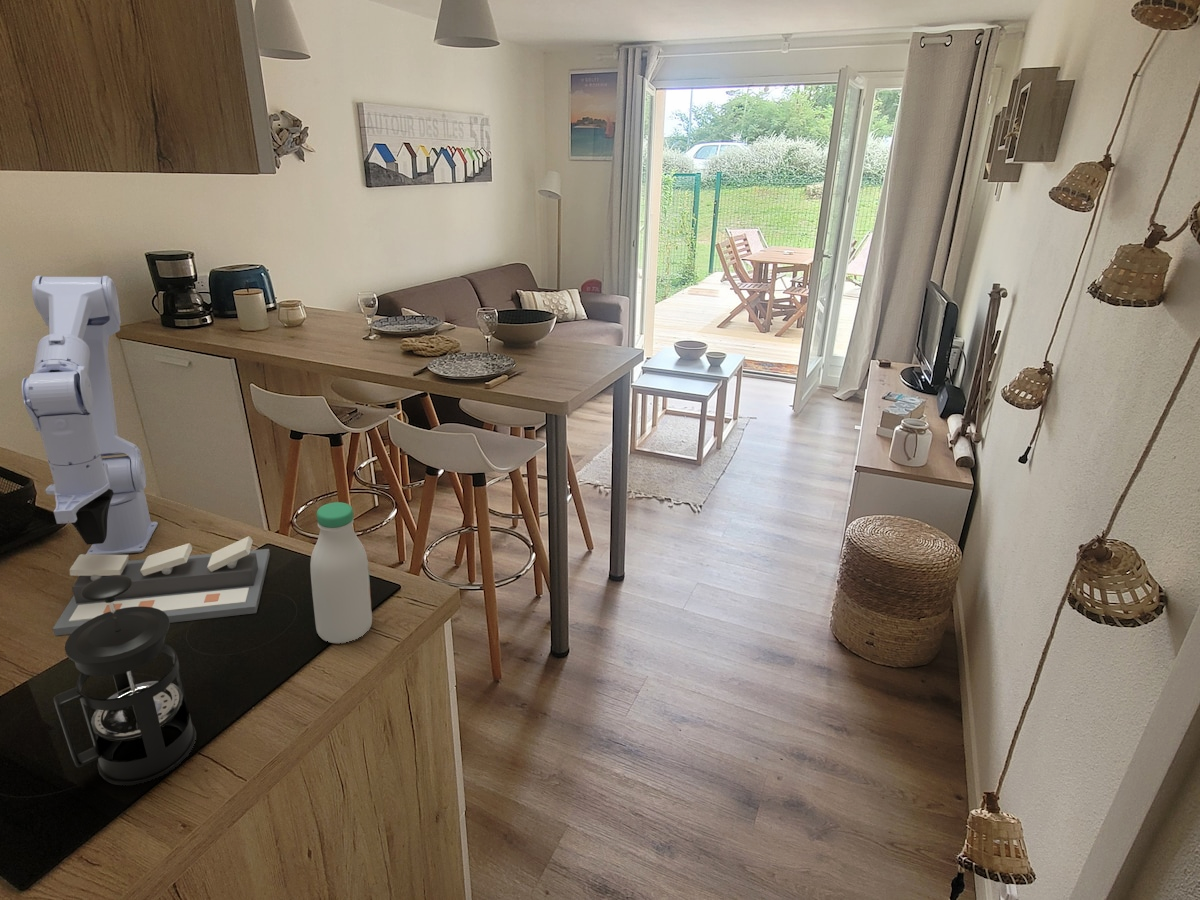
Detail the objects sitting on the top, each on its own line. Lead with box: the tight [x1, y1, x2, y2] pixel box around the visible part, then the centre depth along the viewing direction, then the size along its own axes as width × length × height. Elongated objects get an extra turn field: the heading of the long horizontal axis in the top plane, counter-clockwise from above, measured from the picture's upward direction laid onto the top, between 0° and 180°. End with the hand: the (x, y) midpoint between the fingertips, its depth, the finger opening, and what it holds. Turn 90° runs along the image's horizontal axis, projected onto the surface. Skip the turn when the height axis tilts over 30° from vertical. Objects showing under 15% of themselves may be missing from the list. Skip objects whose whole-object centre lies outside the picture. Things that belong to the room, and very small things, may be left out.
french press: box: [53, 575, 197, 787], centre depth 71 cm, size 12×9×23 cm
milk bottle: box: [309, 501, 373, 644], centre depth 93 cm, size 8×8×20 cm
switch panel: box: [52, 548, 271, 637], centre depth 101 cm, size 16×25×4 cm, turn 108°
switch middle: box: [140, 542, 193, 576], centre depth 100 cm, size 4×6×2 cm, turn 108°
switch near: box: [69, 553, 130, 581], centre depth 97 cm, size 4×6×2 cm, turn 108°
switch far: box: [207, 535, 254, 572], centre depth 102 cm, size 4×6×2 cm, turn 108°
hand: (96, 541), depth 96 cm, fingers closed
